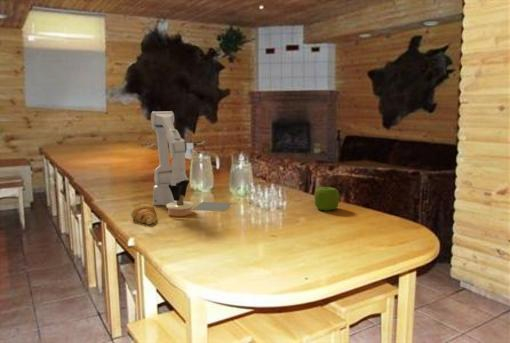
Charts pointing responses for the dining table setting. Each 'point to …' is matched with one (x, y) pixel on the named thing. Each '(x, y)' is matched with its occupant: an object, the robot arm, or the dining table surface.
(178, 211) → the brown rounded ring
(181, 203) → the lid
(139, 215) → the croissant
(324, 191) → the green rounded cube
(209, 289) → the dining table surface
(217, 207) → the mat
